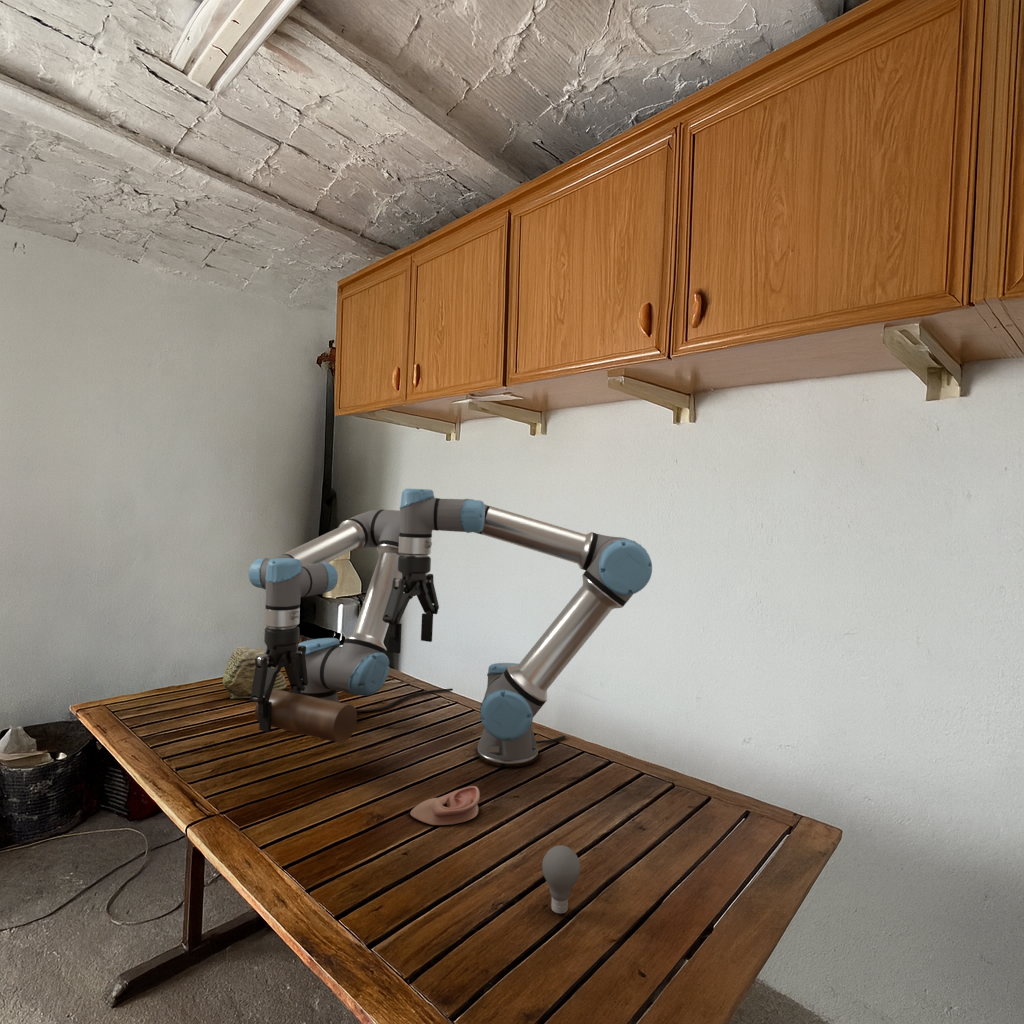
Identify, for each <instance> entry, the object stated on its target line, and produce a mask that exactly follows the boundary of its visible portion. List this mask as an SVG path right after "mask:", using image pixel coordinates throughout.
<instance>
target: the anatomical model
mask: <svg viewBox="0 0 1024 1024" xmlns="http://www.w3.org/2000/svg"><path fill="white" fill-rule="evenodd" d="M480 794H481V793H480V789H479V788H478V786H475V785H471V786H465V787H462V788H459V789H456V790H454V791H451V792H449V793H447V794H444V795H442V796H439V797H432V798H429V799H426V800H424V801H422V802H420V803H419V804H417V805H415V806H414V808H412V809H411V811H410V812H409V814H410V816H411V817H412V818H414V819H415V820H417V821H419V822H422V823H425V824H427V825H431V826H446V825H456V824H460V823H465V822H468V821H470V820H472V819H474V818H476V817H477V816H478V814H479V805H478V803H479V801H480V796H481V795H480Z"/></svg>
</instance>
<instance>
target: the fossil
mask: <svg viewBox="0 0 1024 1024" xmlns="http://www.w3.org/2000/svg"><path fill="white" fill-rule="evenodd" d="M265 653H266V651H265V650H264V649H263V648H260V647H258V648H251V647H247V646H246V647H245V646H238V647H237V648H236V649H235V650H233V651H232V653H231V656H230V657H229V659H228V660H227V663H226V666H225V668H224V671H223V675H222V676H223V677H222V685H223V687H224V688H225V690H226V691H228V693H229V698H230V699H251V692H252V686H253V680H254V674H255V668H256V666H255V657H256V656H260V657H261V656H263V655H265ZM271 668H274V667H272V666H271ZM287 687H288V686H287V680H286V678H285V676H284V674H283V673H282V672H281V671H280V672H279V673H278V674H277V677H276V680H275V683H274V686H273V689H278V690H283V691H287V690H286V689H287Z"/></svg>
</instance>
